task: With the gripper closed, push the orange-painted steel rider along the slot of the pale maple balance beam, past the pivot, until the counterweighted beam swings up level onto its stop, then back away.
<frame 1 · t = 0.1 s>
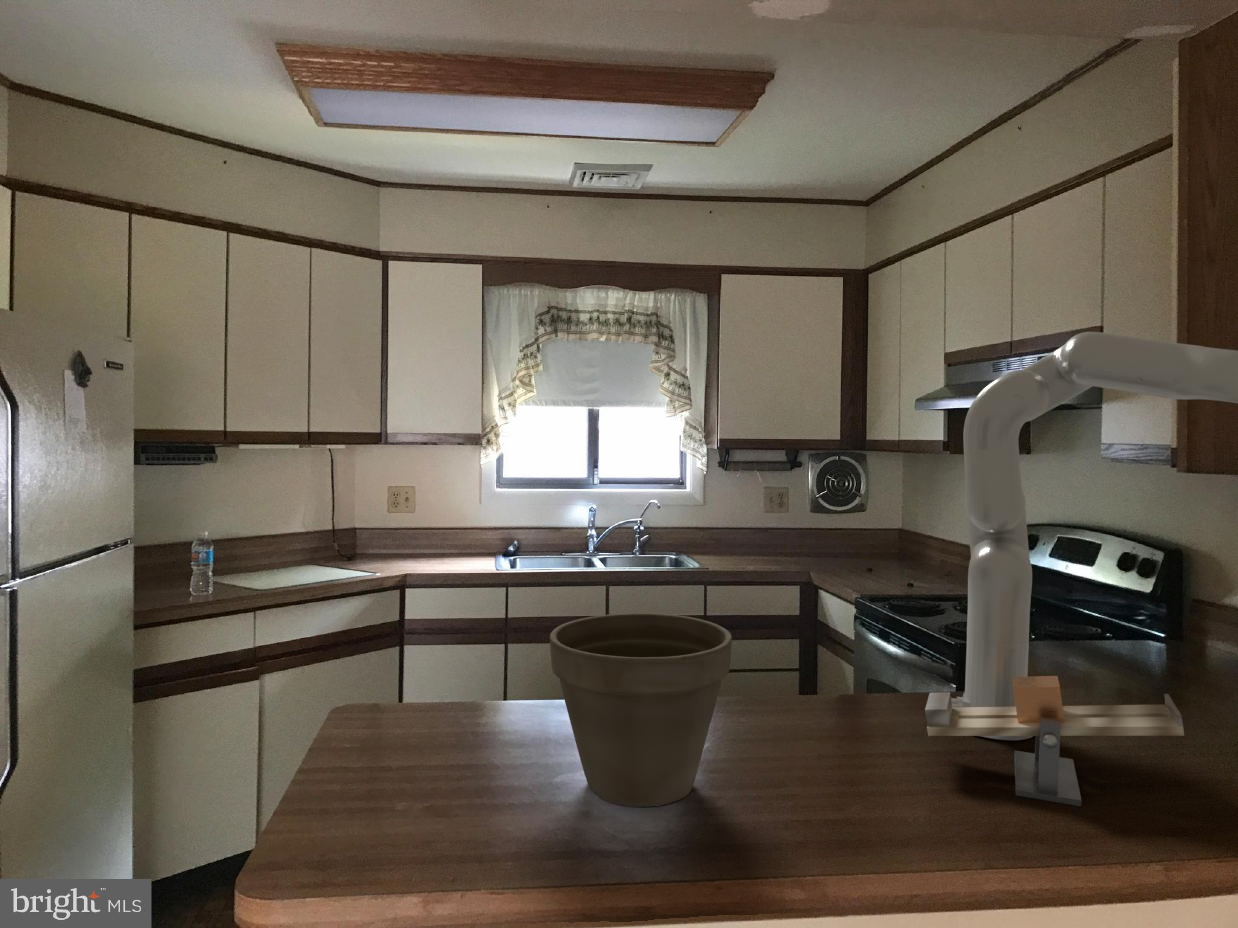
plant pot: (637, 787, 121), on the counter
pivot stand: (1045, 779, 126), on the counter
rider: (1041, 723, 126), point 8 cm above the counter, tilted 9°, touching beam
beam: (1045, 711, 125), point 10 cm above the counter, hinge at -9.3°, touching rider
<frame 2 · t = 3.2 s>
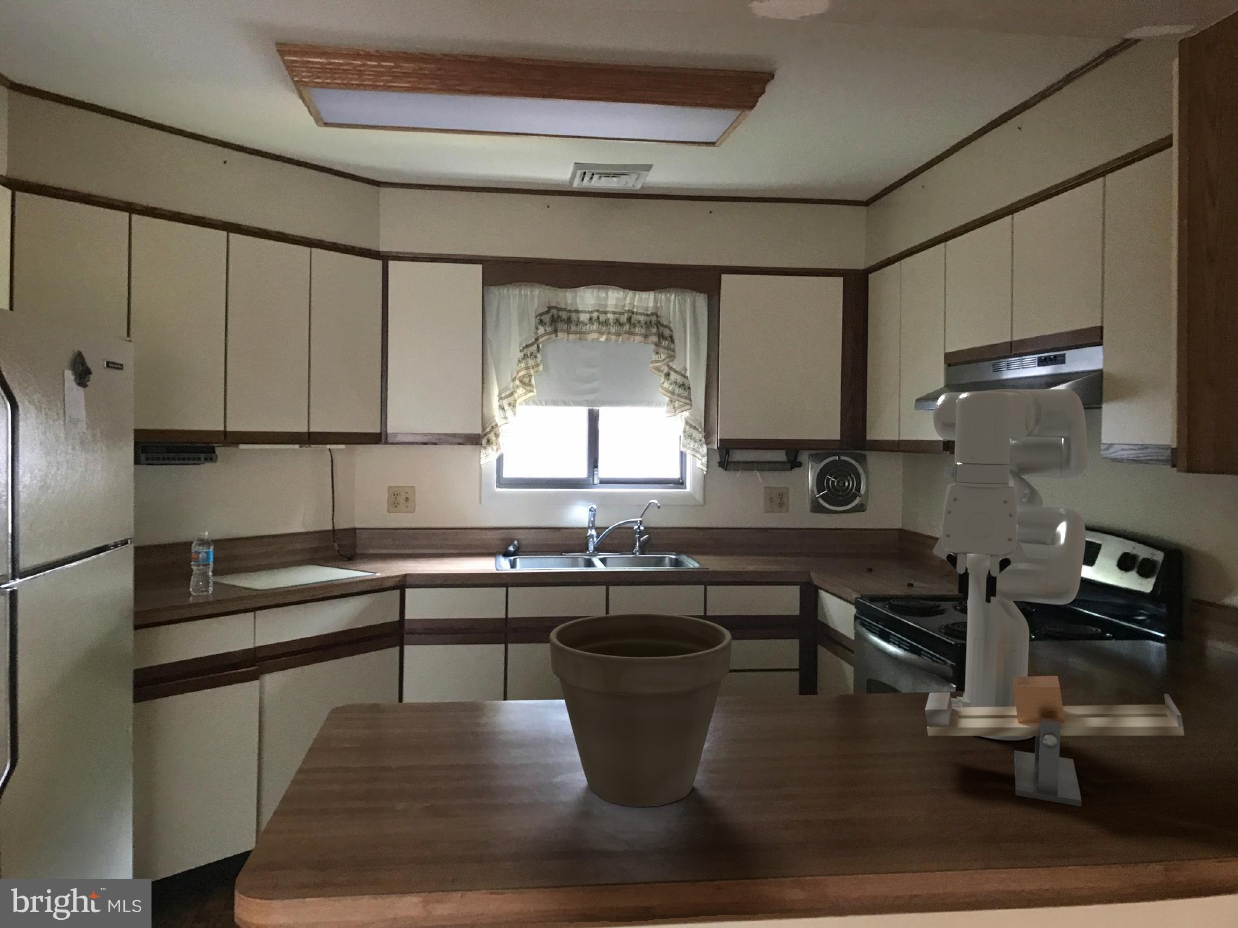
hand: (976, 599, 129), 25 cm above the counter, fingers closed
nothing on the counter moved.
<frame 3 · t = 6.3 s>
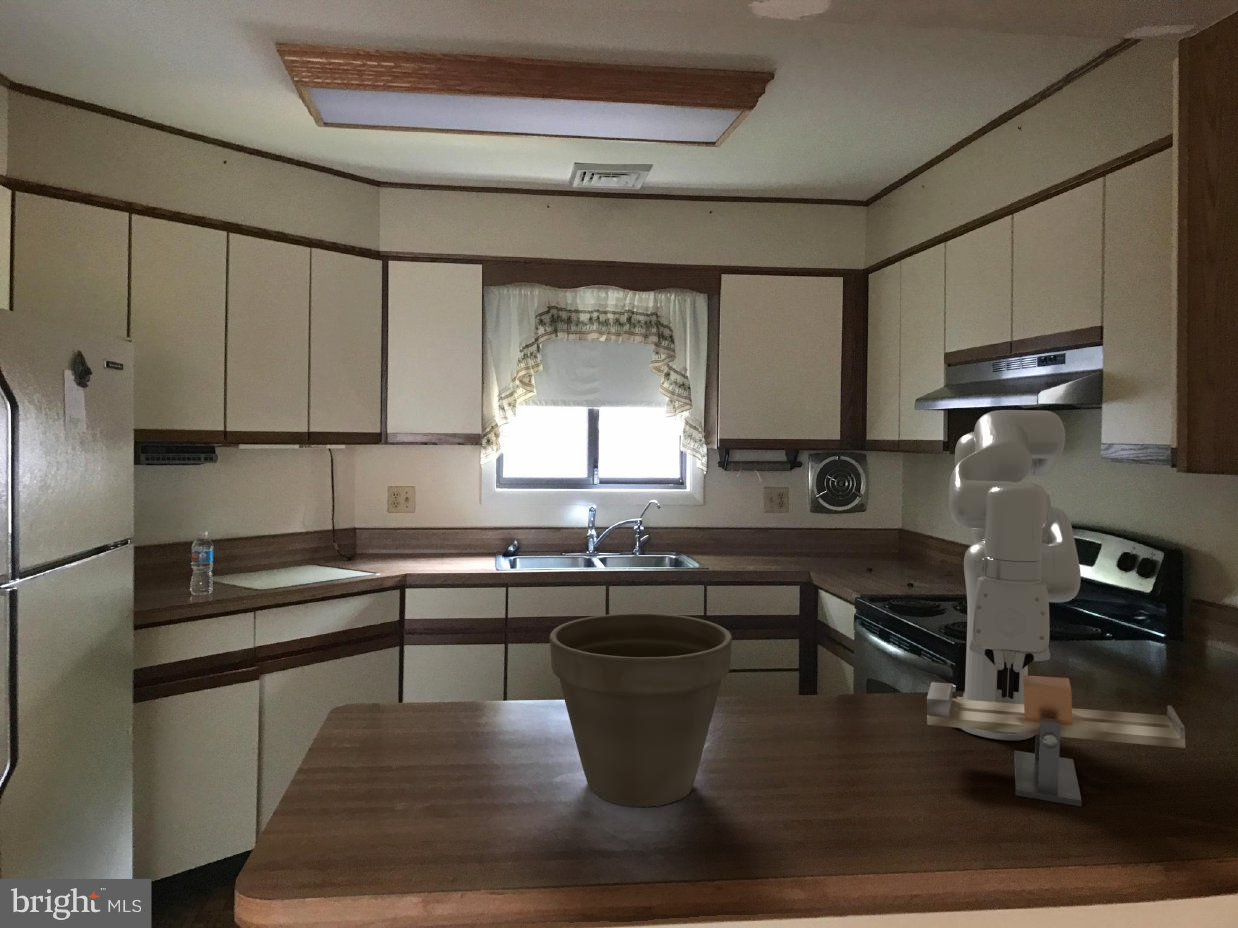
hand: (1007, 695, 127), 12 cm above the counter, fingers closed
rider: (1047, 723, 125), point 8 cm above the counter, touching gripper
beam: (1047, 711, 125), point 10 cm above the counter, hinge at -3.4°
everything else where it was.
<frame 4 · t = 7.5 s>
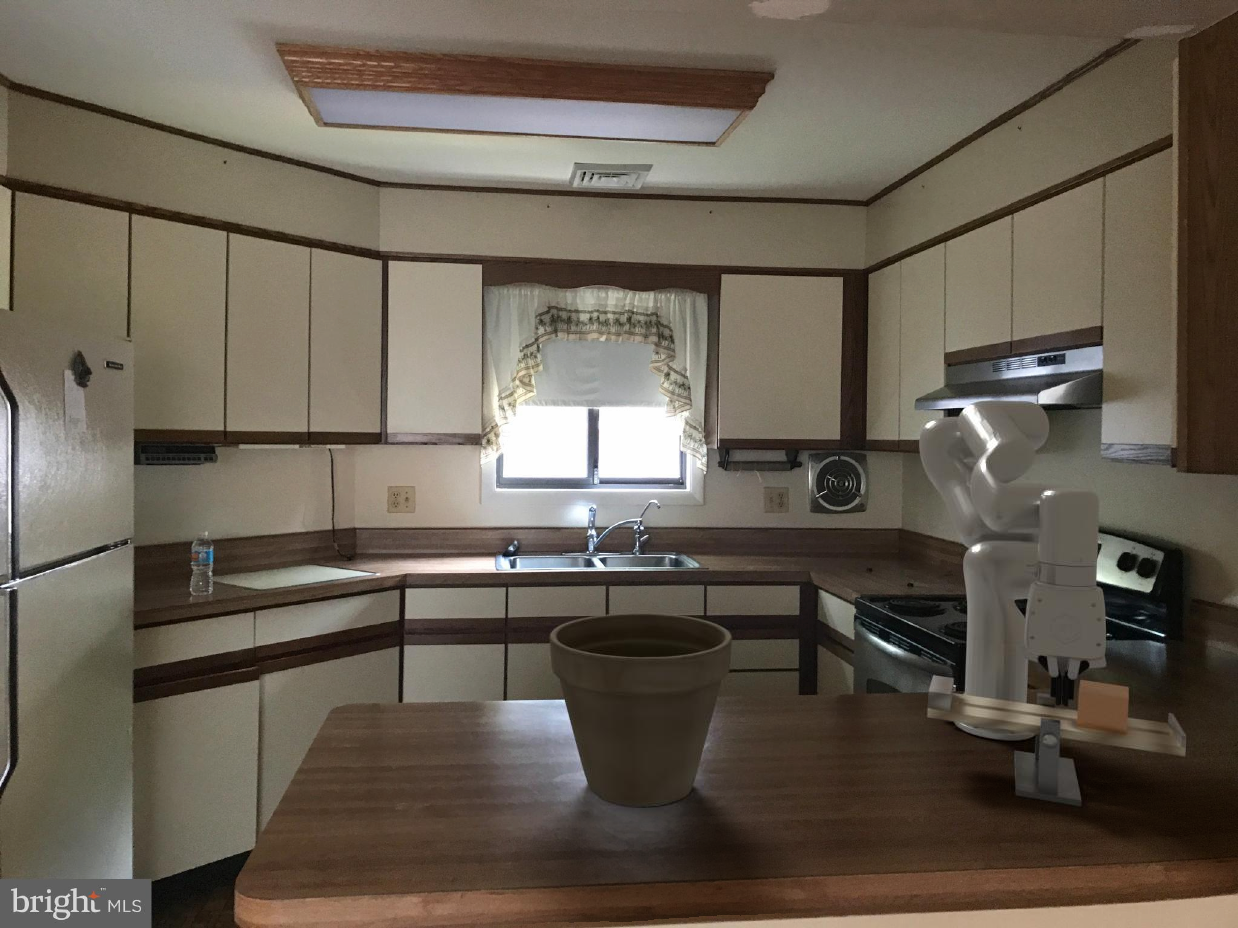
hand: (1061, 703, 124), 11 cm above the counter, fingers closed
rider: (1101, 730, 123), point 8 cm above the counter, touching beam, gripper
beam: (1048, 711, 125), point 10 cm above the counter, hinge at 0.6°, touching rider
everything else where it was.
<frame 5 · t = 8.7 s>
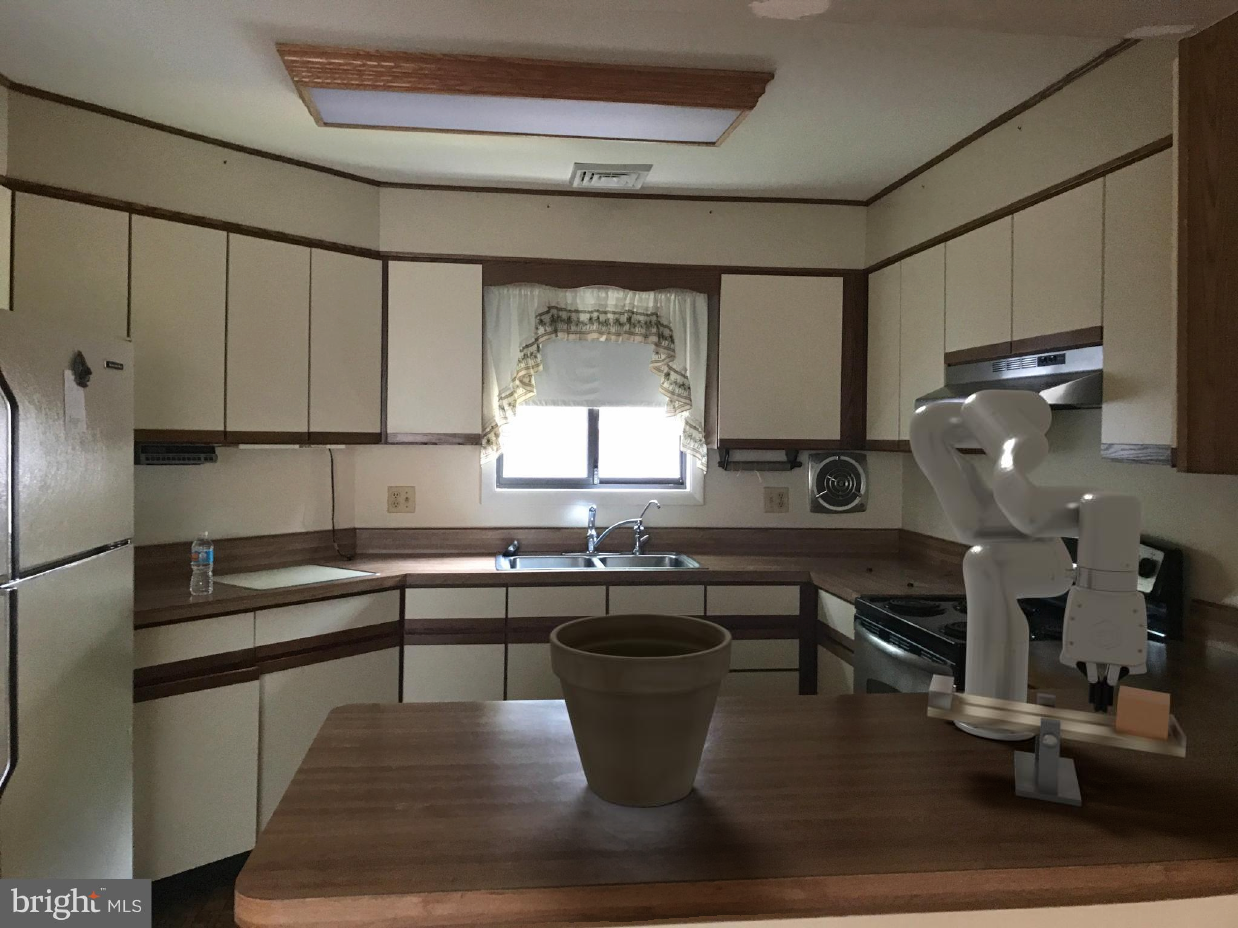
hand: (1100, 709, 123), 11 cm above the counter, fingers closed
rider: (1141, 737, 121), point 8 cm above the counter, touching beam, gripper
beam: (1048, 711, 125), point 10 cm above the counter, hinge at 1.1°, touching rider
everything else where it was.
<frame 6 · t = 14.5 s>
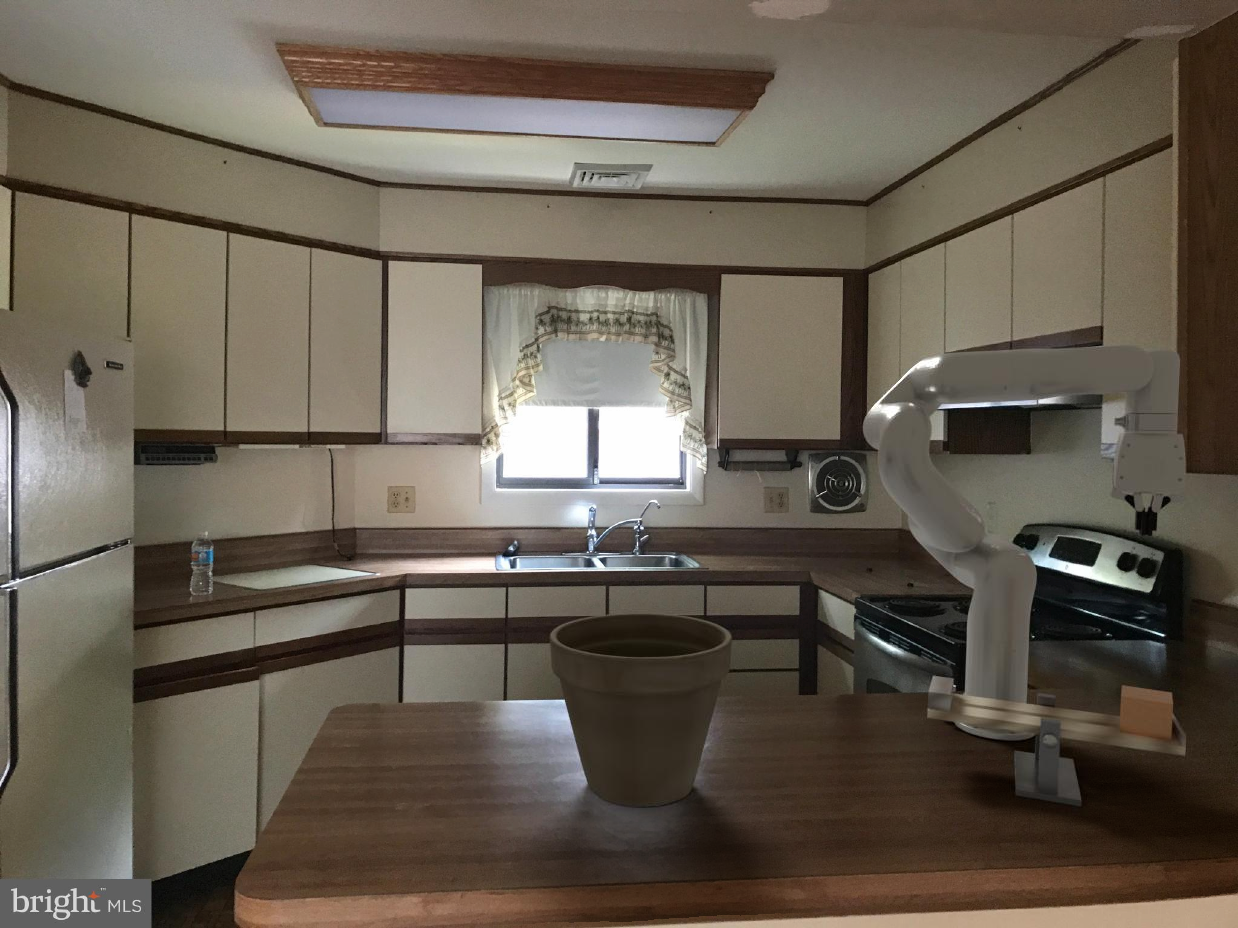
hand: (1145, 534, 146), 33 cm above the counter, fingers closed
rider: (1144, 736, 120), point 8 cm above the counter, touching beam
beam: (1048, 711, 125), point 10 cm above the counter, hinge at 0.3°, touching rider
everything else where it was.
at the end: beam at +0° (first picture: -9°); rider 2.5 cm from the target spot on the beam, point 0.1 cm above the beam's base; rider tilted 0° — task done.
